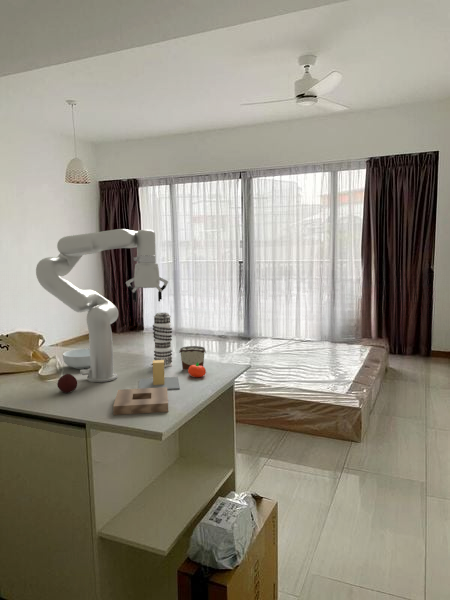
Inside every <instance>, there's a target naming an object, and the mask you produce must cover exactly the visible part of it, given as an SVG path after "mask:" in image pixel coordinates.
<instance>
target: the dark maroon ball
mask: <svg viewBox="0 0 450 600" xmlns="http://www.w3.org/2000/svg"><path fill="white" fill-rule="evenodd" d="M56 384H57V385H56V386H57V389H58V390H59V391H61V392H62V393H65V394H67V393H72V392H73V391H75V390H76V389H77V386H78V380H77V378H76V377H75V376H74V375H73V374H71V373H65V374H63V375H62V376H60V378H58V380H57V383H56Z"/></svg>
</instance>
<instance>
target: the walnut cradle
mask: <svg viewBox="0 0 450 600" xmlns="http://www.w3.org/2000/svg"><path fill="white" fill-rule="evenodd" d="M112 405H113V406H112V408H113V409H112V410H113V413H112V414H113V416H120V415H123V416H124V415H137V414H155V413H168V412H169V396H168V390H167V387H161V388H142V389H138V388H127V389H122V388H121V389H117V392H116V396H115V399H114V402H113V404H112Z"/></svg>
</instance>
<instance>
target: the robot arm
mask: <svg viewBox="0 0 450 600" xmlns="http://www.w3.org/2000/svg"><path fill="white" fill-rule="evenodd" d="M56 246H57V247H56V248H57V251H58V253H59V254H58V255H57V256H49V257H44V258H42V259H41V260H39V261H38V262H37V264H36V267H35V268H36V269H35V275H36V278H37V281H38V283H39V284H40V286H41V287H42V288H43V289H44V290H46V291H47V292H48V293H49V294H51V295H52V296H53V297H55V298H57V300H59V301H60V302H62V303H63V304H64V305H66V306H67V307H68V308H70V309H71V310H73V312H76V313H85V312H87V313H86V324H87V329H88V338H89V339H88V341H89V342H88V343H89V349H90V367H89V368H87V369H79V374H80V375H82V376H86V380H87V381H88V382H91V383H105V382H111V381H115V380H116V379H118V377H119V375H118V374H117V372H115V371H114V347H113V344H114V343H113V340H114V339H113V332H112V326H111V325H112V324H113V323H115V322H116V321H117V320H118V318H119V310H118V308H117V306H116V305H115V304H114V303H112V301H110V300H109V299H107V298H106V297H104V296H103V295H102V294H100V293H99V292H97V291H96V290H93V289H90V288H83V289H81V288H79V287H78V286H76V285H74V284H73V283H72V282H71V281H69V280H67V279H65V278H64V276H66V275H68V274H69V273H70V272H71V271H72V270H73V269H74V267H76V265H77V263H78V262H79V261H80V260H81V258H82V257H83V256H84V255H92V254H93V255H94V254H100V252H103V251H108V250H115V249H116V250H117V249H132V248H136V253H137V254H136V256H135V257H133V261H135V262H137V263H135V265H134V272H133V273H134V277H132V278H130V279H129V280H127V281H126V282H125V284H126V287H128V289H129V290H130V291H131V292H132V300H133V301H134V303H137V301H138V295H137V290H138V289H149V288H152V289H157V290H158V291H157V299H158V302H159V303H160V302H161V300H162V299H163V298H162V297H163V296H162V295H163V293H162V292H163V291H164V290H165V289H166V288H167V286H168V283H169V280H166V279H165V278H163V277H160V268H159V264H158V263H157V261H156V260H157V257H156V253H157V252H156V233H155V231H154V230H152V229H139V230H132V229H126V228H118V229H117V228H116V229H110V230H104V231H98V232H97V231H96V232H89V233H82V234H75V235H74V234H73V235H67V236H63V237H62V238H60V239H58V241H57V245H56ZM133 282H134V283H133ZM160 282H162V283H163V285H162V286H160ZM131 283H133V284H134V287H133V286H132V285H131Z"/></svg>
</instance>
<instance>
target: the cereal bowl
mask: <svg viewBox="0 0 450 600" xmlns="http://www.w3.org/2000/svg"><path fill="white" fill-rule="evenodd" d="M62 359H63V363H64V364H65V365H66V366H68V367H71V368H73V369H76V370H85V369H90V348H77V349H71V350H67V351H65V352H63V353H62ZM84 368H85V369H84Z"/></svg>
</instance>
